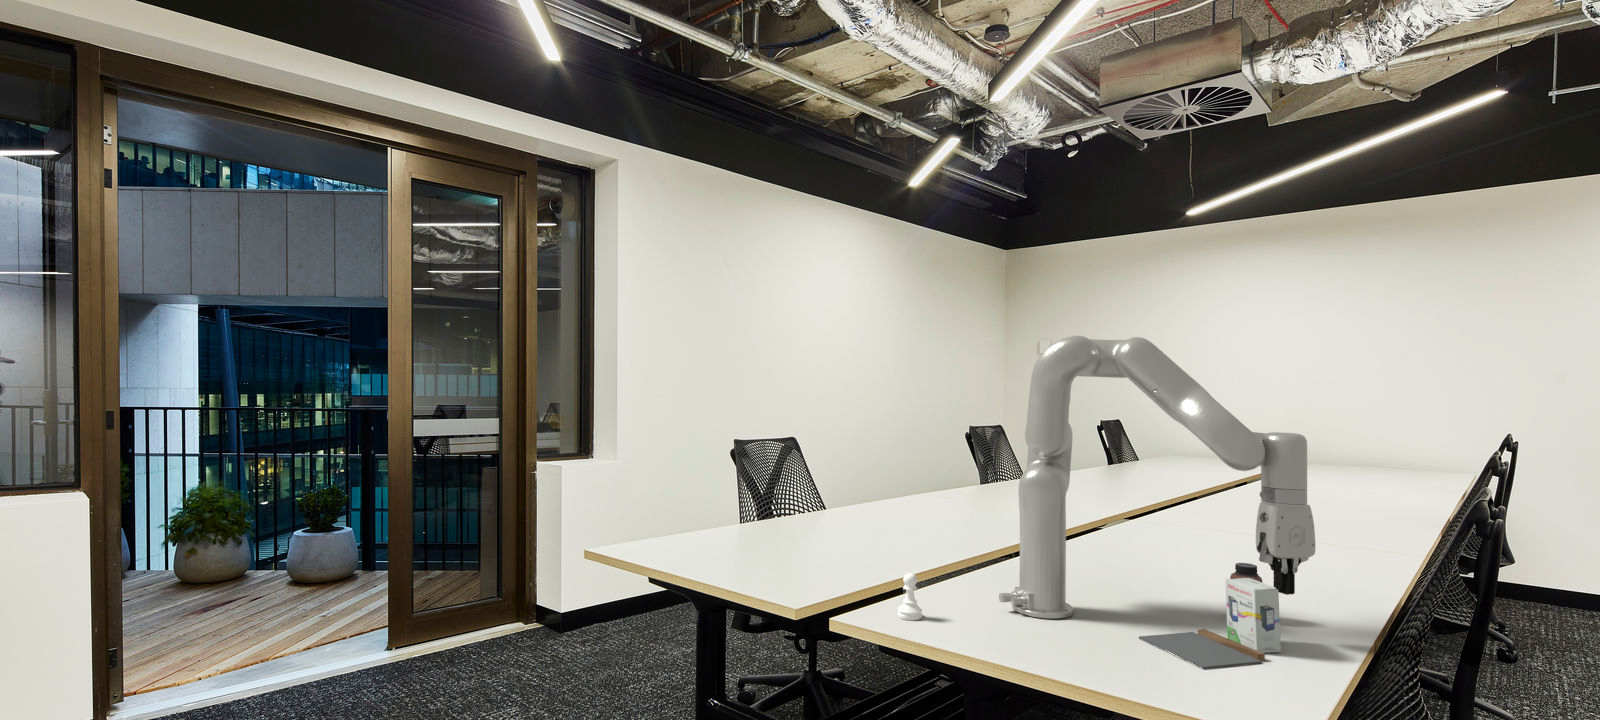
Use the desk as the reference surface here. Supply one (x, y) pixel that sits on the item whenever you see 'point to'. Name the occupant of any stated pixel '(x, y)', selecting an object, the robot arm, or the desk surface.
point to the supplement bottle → (1246, 572)
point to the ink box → (1253, 614)
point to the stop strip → (1232, 644)
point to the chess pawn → (909, 600)
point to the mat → (1200, 650)
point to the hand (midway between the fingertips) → (1284, 592)
